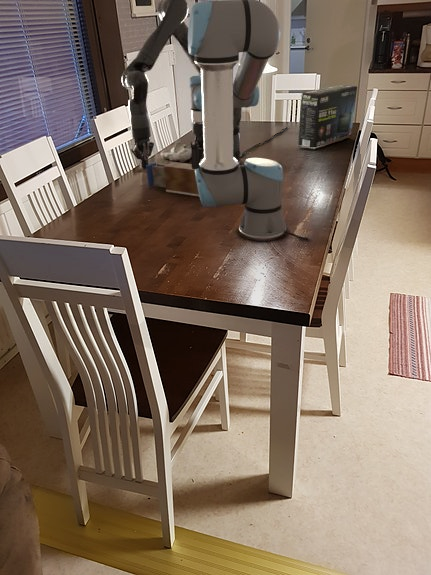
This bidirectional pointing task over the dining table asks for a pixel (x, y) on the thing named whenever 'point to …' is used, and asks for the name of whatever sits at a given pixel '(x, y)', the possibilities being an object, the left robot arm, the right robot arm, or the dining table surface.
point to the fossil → (178, 153)
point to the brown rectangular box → (180, 178)
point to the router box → (326, 115)
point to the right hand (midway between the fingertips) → (204, 182)
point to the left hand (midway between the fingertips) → (145, 168)
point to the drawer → (154, 174)
